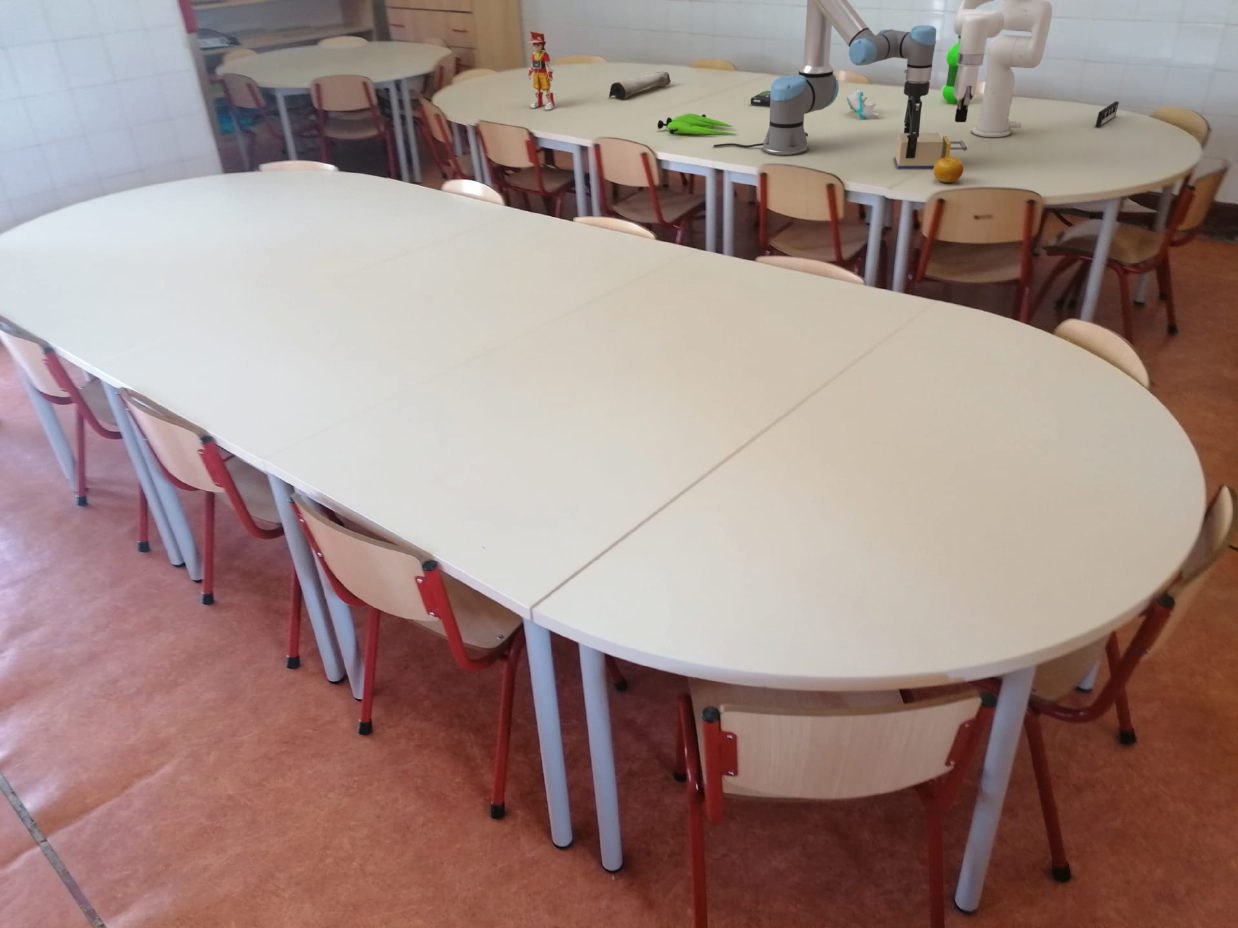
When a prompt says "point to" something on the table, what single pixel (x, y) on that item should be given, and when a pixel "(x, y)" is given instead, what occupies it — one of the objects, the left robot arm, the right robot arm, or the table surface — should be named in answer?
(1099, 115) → the midi keyboard
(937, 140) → the cabinet
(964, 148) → the drawer
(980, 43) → the right robot arm
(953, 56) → the plastic bottle
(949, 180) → the fruit
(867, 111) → the anatomical model
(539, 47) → the toy
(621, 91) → the rolled mat
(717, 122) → the toy
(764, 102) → the disk drive
